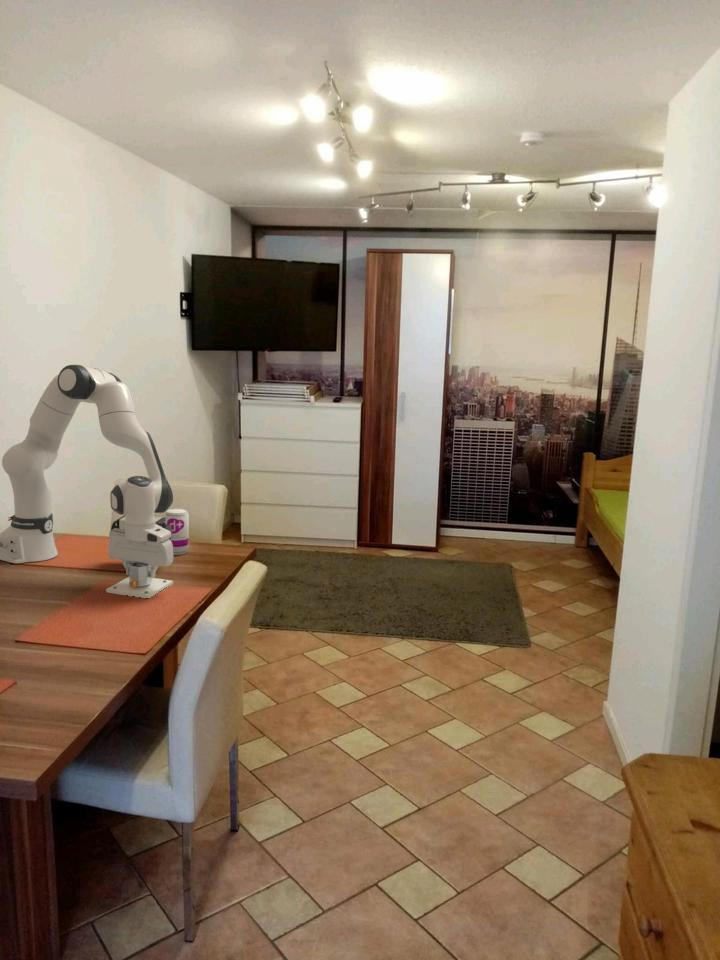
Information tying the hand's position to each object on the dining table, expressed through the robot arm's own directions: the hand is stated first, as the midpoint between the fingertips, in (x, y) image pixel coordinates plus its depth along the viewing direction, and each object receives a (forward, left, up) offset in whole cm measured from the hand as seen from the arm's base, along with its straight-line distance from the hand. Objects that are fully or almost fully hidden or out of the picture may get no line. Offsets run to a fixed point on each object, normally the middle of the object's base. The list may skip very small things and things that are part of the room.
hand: (140, 575), depth 219 cm
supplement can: (-8, +36, -4) cm, 37 cm away
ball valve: (-11, +19, -4) cm, 22 cm away
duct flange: (0, 0, -4) cm, 4 cm away
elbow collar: (0, 0, -2) cm, 2 cm away
